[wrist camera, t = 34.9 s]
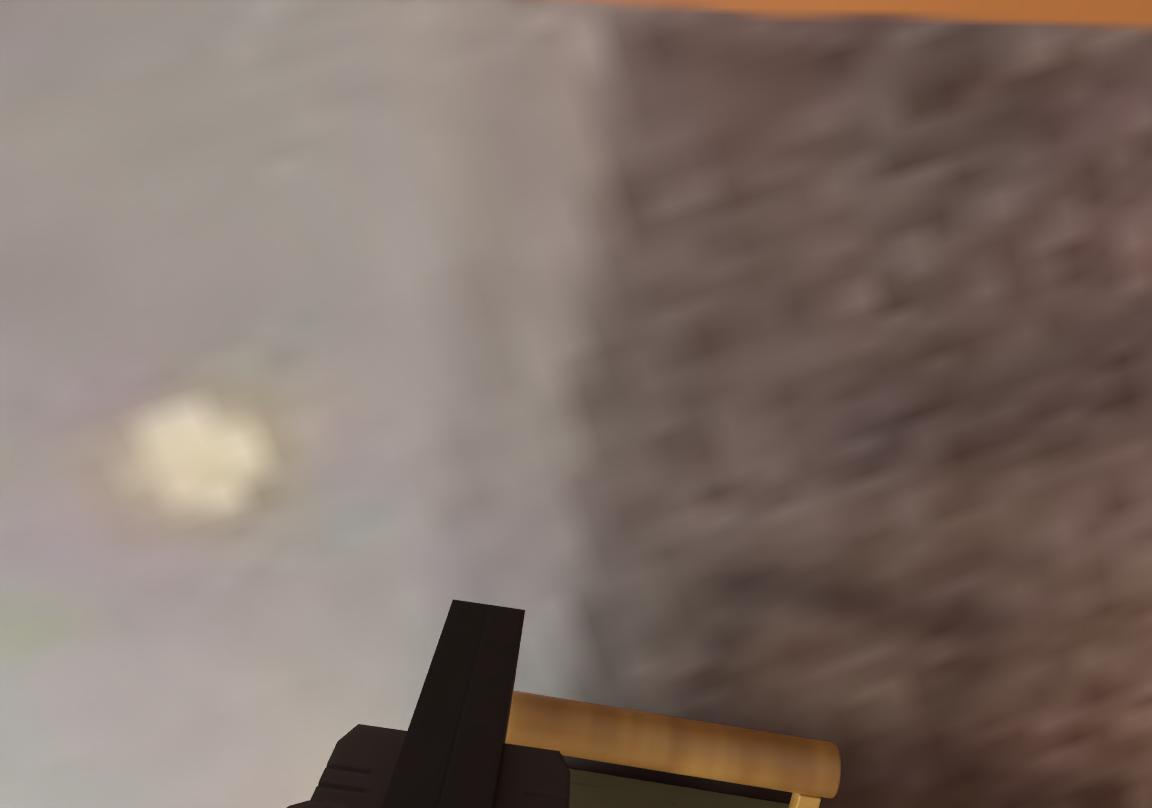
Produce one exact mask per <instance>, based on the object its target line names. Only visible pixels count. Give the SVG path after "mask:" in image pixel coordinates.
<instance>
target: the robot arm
mask: <svg viewBox="0 0 1152 808" xmlns="http://www.w3.org/2000/svg"><path fill="white" fill-rule="evenodd" d="M524 614H525V610H521V609H514V608H507V607H500V606H493V605H487V604H480V603H473V602H466V601H459V600H453V601H452V604H451V607H450V610H449V613H448V616H447V619H446V622H445V624H444V627H443V630H442V633H441V636H440V639H439V642H438V645H437V648H436V650H435V653H434V656H433V659H432V662H431V665H430V668H429V671H428V674H427V676H426V679H425V682H424V685H423V688H422V691H421V694H420V697H419V700H418V702H417V705H416V708H415V711H414V714H413V717H412V720H411V723H410V726H409V728H408V731H402V730H396V729H389V728H382V727H375V726H368V725H361V724H358V725H357V726H356V727H354V728H353V729H352V730H351V731H350V732H348V733H347V734H346V735H345V736H344V737H343V738H341V739H340V740H339V741H338V742H337V744H336V746H335V748H334V750H333V753H332V755H331V757H330V759H329V761H328V763H327V768H325V770H324V772H323V774H322V776H321V778H320V781H319V784H318V786H317V787H316V789H315V791H314V794H313V796H312V798H311V800H310V801H305V802H302V803H298V804H295V805H291V806H289V807H287V808H569V797H570V777H571V773H570V771H569V769H568V767H567V765H566V763H565V761H564V759H563V757H562V755H561V753H560V751H555V750H548V749H542V748H535V747H528V746H521V745H514V744H507V743H505V741H506V735H507V729H508V722H509V716H510V709H511V702H512V695H513V688H514V682H515V675H516V668H517V661H518V654H519V648H520V641H521V634H522V627H523V621H524Z"/></svg>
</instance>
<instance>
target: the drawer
mask: <svg viewBox="0 0 1152 808" xmlns="http://www.w3.org/2000/svg"><path fill="white" fill-rule="evenodd" d="M505 743H507V744H514V745H521V746H528V747H535V748H542V749H548V750H555V751H560V753H561V755H564V756H570V757H576V758H582V759H588V760H595V761H601V762H607V763H613V764H619V765H626V766H632V767H638V768H644V769H650V770H656V771H663V772H669V773H675V774H681V775H687V776H693V777H700V778H706V779H712V780H718V781H724V782H731V783H737V784H743V785H749V786H755V787H761V788H768V789H774V790H780V791H786V792H792V797H791V801H790V804H786V803H779V802H773V801H767V800H761V799H755V798H749V797H742V796H736V795H730V794H724V793H718V792H712V791H705V790H699V789H693V788H687V787H681V786H675V785H668V784H662V783H656V782H650V781H644V780H638V779H631V778H625V777H619V776H613V775H607V774H600V773H594V772H588V771H582V770H576V769H570V768H568V769H569V771H570V773H571V777H570V797H569V808H819V805H820V802H821V797H823V798H829V799H831V798H833V797H835V795H836V794H837V791H838V788H839V784H840V778H841V760H840V754H839V750H838V748H837V746H836V744H834V743H833V742H827V741H821V740H815V739H809V738H803V737H797V736H790V735H784V734H778V733H772V732H766V731H759V730H753V729H747V728H741V727H735V726H728V725H722V724H716V723H710V722H704V721H698V720H691V719H685V718H679V717H673V716H667V715H660V714H654V713H648V712H642V711H636V710H629V709H623V708H617V707H611V706H605V705H599V704H592V703H586V702H580V701H574V700H568V699H561V698H555V697H549V696H543V695H537V694H530V693H524V692H518V691H513V695H512V702H511V709H510V716H509V722H508V729H507V735H506V741H505Z"/></svg>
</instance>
